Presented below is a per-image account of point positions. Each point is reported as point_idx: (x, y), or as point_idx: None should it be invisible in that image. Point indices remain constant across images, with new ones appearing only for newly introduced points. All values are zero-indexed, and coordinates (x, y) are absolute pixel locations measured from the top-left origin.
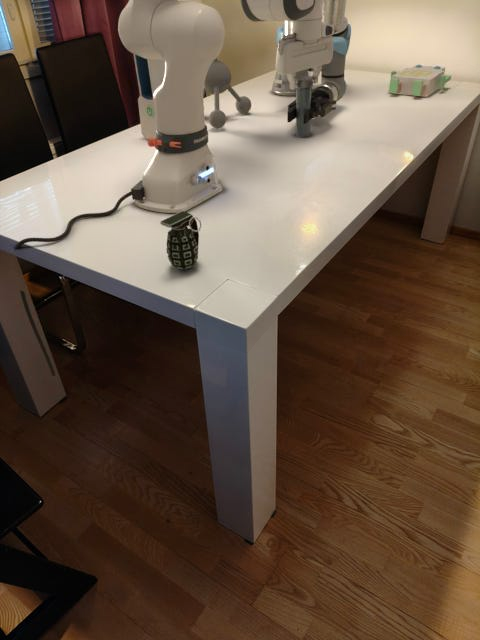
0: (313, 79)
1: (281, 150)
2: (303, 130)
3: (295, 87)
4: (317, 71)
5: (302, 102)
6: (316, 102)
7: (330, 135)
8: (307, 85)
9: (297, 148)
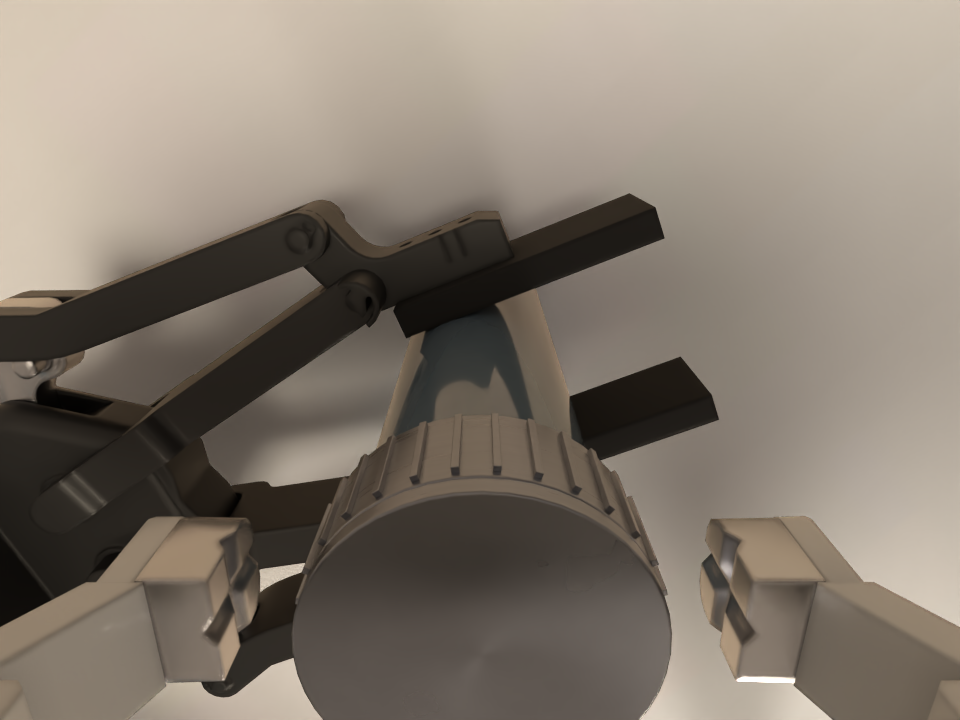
0: (226, 583)
1: (894, 175)
2: None
3: (781, 527)
4: (39, 684)
5: (564, 386)
6: (168, 465)
7: (324, 110)
8: (557, 445)
9: (782, 101)
